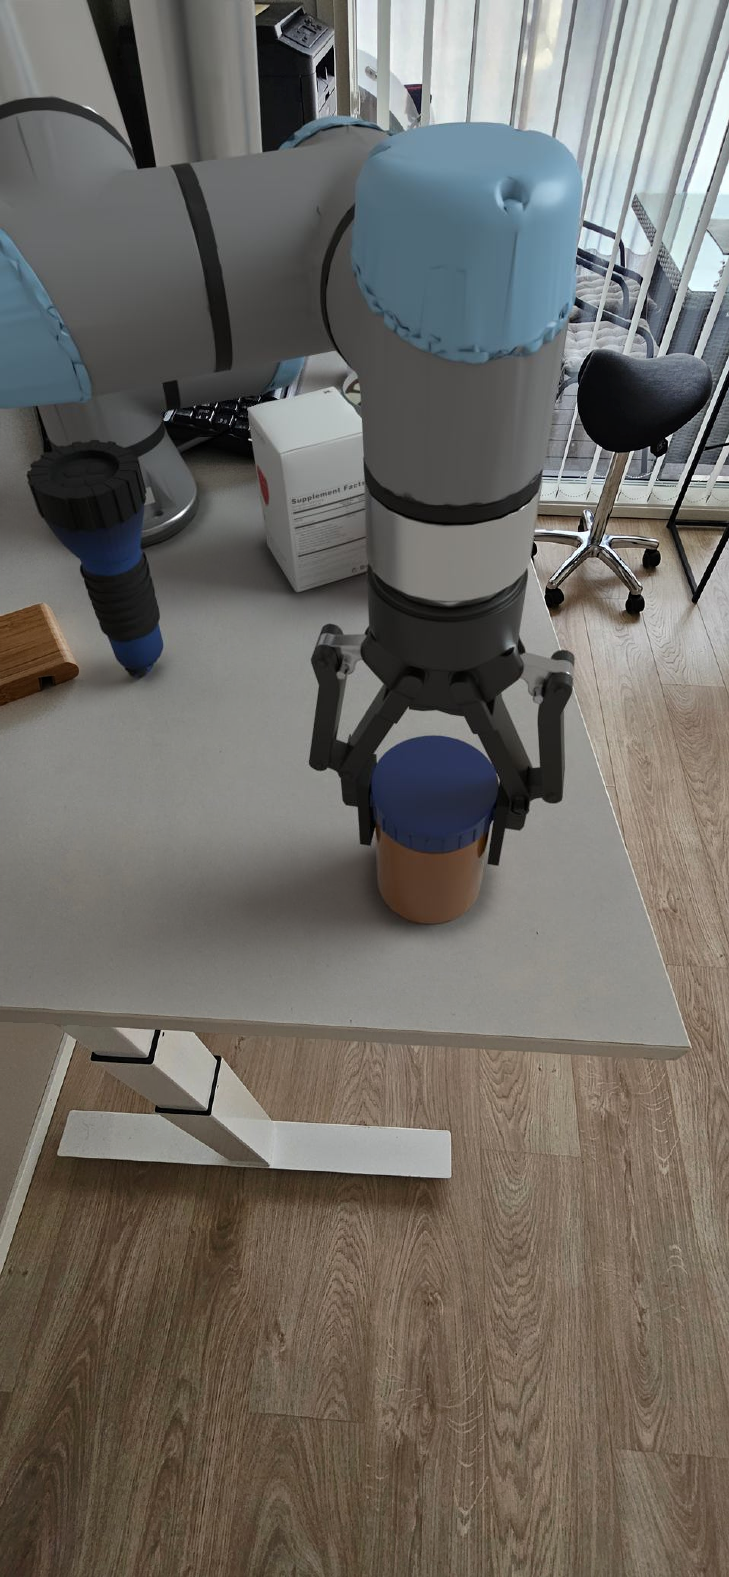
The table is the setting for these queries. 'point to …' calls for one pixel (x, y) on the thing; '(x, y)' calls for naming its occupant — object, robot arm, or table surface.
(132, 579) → the flashlight
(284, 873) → the table surface
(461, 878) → the jar
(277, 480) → the rectangular carton
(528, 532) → the robot arm
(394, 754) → the jar lid
